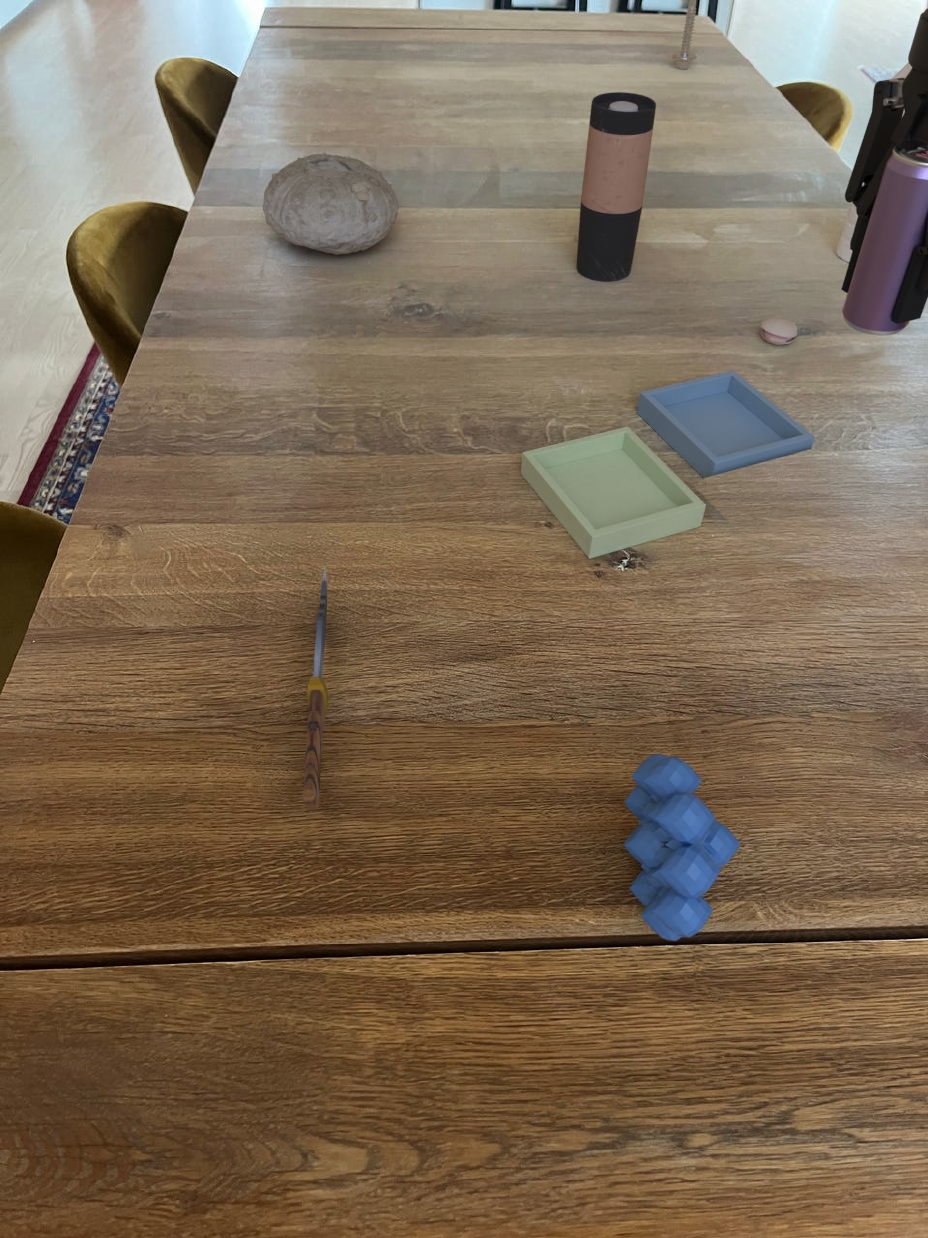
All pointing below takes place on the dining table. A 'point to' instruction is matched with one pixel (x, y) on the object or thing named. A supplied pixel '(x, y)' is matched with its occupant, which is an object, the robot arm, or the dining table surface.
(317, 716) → the knife
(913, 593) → the dining table surface
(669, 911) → the grapes
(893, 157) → the beverage can
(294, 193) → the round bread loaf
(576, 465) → the snack tray
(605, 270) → the travel mug
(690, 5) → the screw
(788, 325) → the macaroon
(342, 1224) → the dining table surface
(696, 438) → the tray
